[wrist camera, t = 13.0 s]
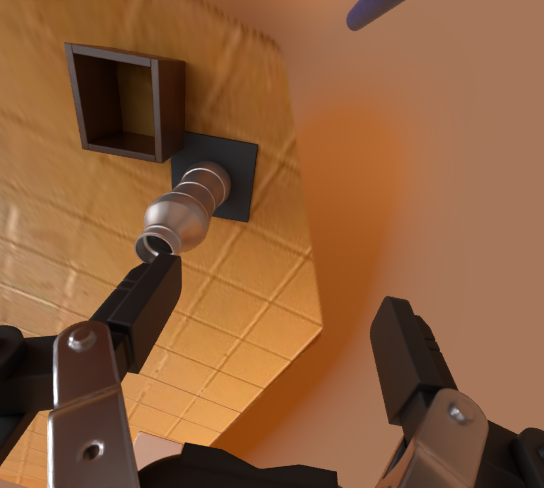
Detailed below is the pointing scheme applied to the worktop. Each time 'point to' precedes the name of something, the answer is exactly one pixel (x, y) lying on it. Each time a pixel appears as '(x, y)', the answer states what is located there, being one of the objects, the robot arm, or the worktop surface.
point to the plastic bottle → (183, 212)
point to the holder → (106, 106)
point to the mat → (230, 156)
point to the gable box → (153, 449)
